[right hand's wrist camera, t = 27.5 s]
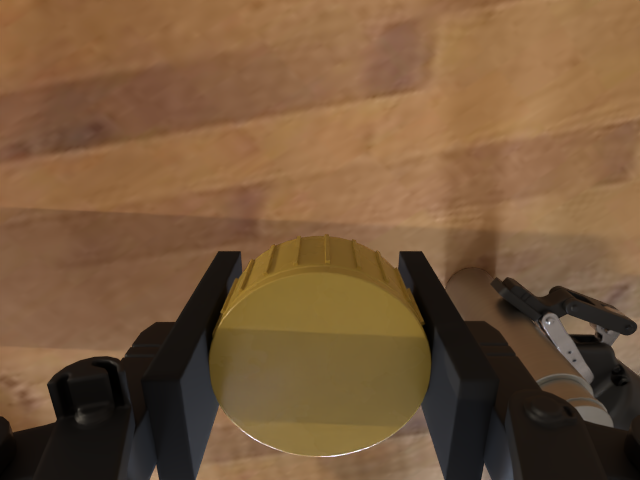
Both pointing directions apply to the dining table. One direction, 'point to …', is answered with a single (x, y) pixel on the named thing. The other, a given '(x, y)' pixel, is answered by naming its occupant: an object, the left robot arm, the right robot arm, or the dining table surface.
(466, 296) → the jar
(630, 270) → the dining table surface
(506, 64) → the dining table surface
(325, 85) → the dining table surface
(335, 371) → the lid
